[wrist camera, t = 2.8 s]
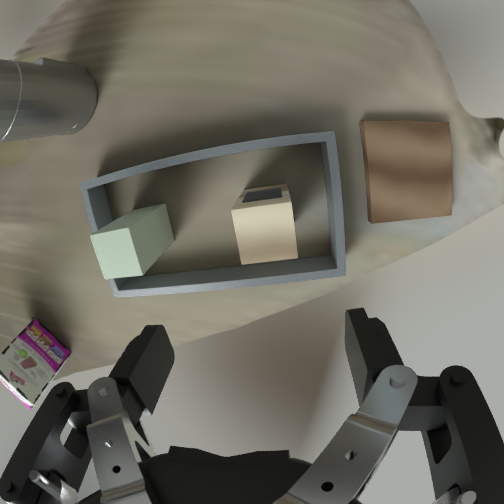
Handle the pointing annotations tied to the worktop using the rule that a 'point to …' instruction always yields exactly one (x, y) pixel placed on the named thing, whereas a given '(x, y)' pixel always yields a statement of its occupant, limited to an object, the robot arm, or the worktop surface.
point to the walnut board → (407, 169)
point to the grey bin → (233, 275)
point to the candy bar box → (32, 363)
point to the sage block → (133, 242)
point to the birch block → (265, 225)
